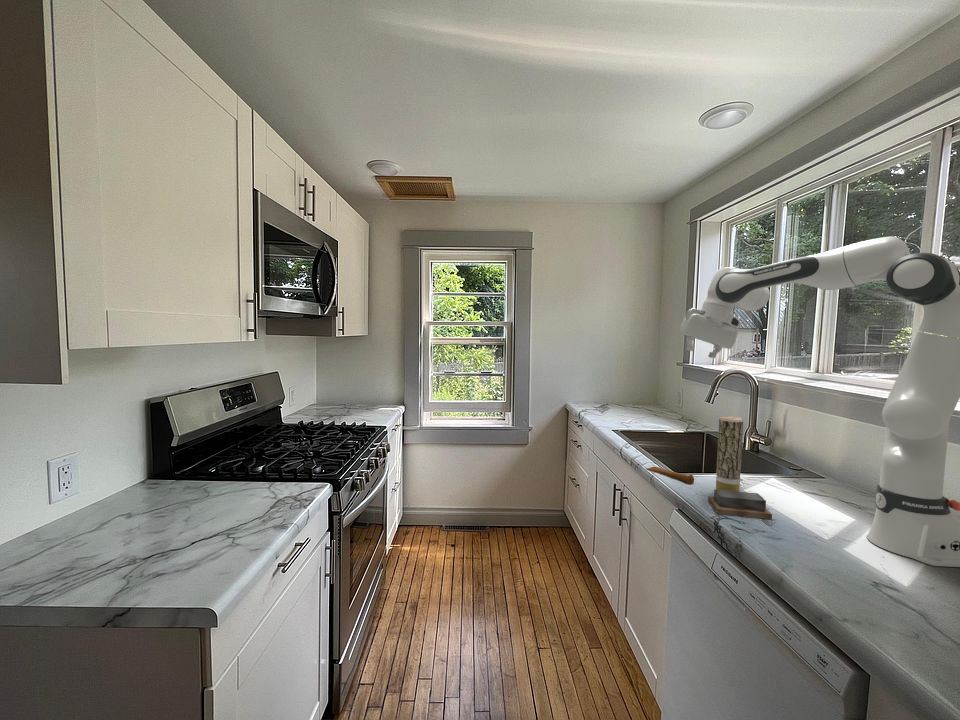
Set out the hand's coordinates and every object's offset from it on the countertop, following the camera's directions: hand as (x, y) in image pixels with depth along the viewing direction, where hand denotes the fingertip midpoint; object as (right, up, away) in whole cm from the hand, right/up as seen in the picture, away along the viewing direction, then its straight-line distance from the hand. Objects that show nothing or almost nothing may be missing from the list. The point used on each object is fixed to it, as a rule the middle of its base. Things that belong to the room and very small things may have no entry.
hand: (700, 354), depth 146 cm
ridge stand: (+2, -47, -18) cm, 50 cm away
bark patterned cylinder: (+7, -46, -4) cm, 47 cm away
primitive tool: (-5, -45, +13) cm, 47 cm away
